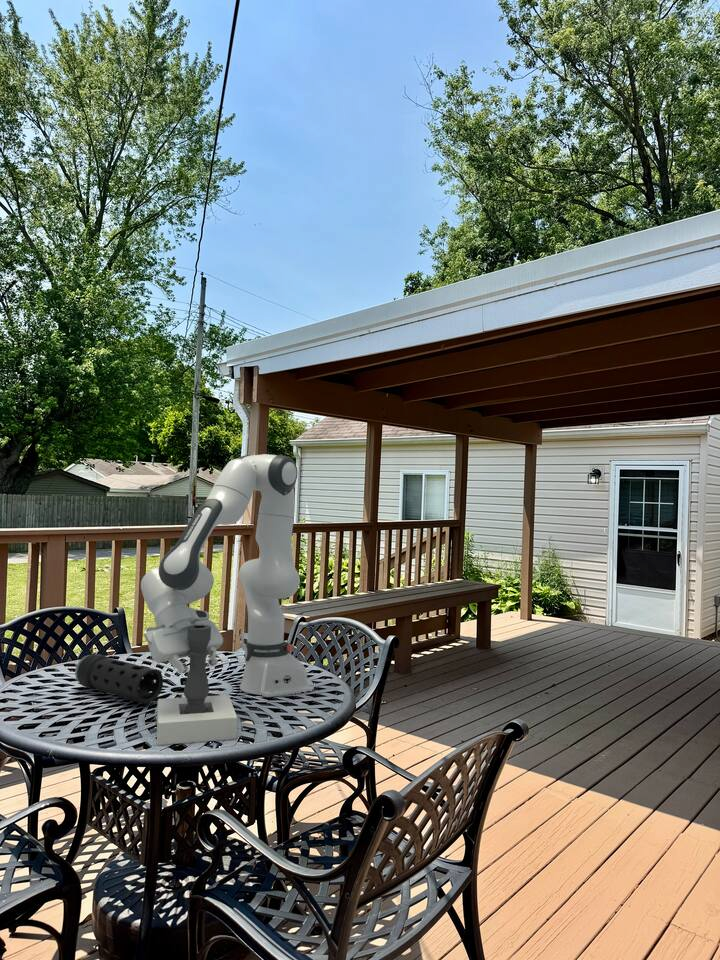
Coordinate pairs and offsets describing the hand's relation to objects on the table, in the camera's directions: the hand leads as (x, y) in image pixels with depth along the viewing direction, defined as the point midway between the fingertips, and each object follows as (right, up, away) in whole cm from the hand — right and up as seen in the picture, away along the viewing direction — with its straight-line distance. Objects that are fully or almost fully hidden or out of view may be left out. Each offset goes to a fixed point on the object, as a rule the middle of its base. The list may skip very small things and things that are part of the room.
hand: (199, 668), depth 153 cm
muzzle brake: (-29, -15, +22) cm, 40 cm away
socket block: (-1, -15, 0) cm, 15 cm away
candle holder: (-1, -15, 0) cm, 15 cm away
